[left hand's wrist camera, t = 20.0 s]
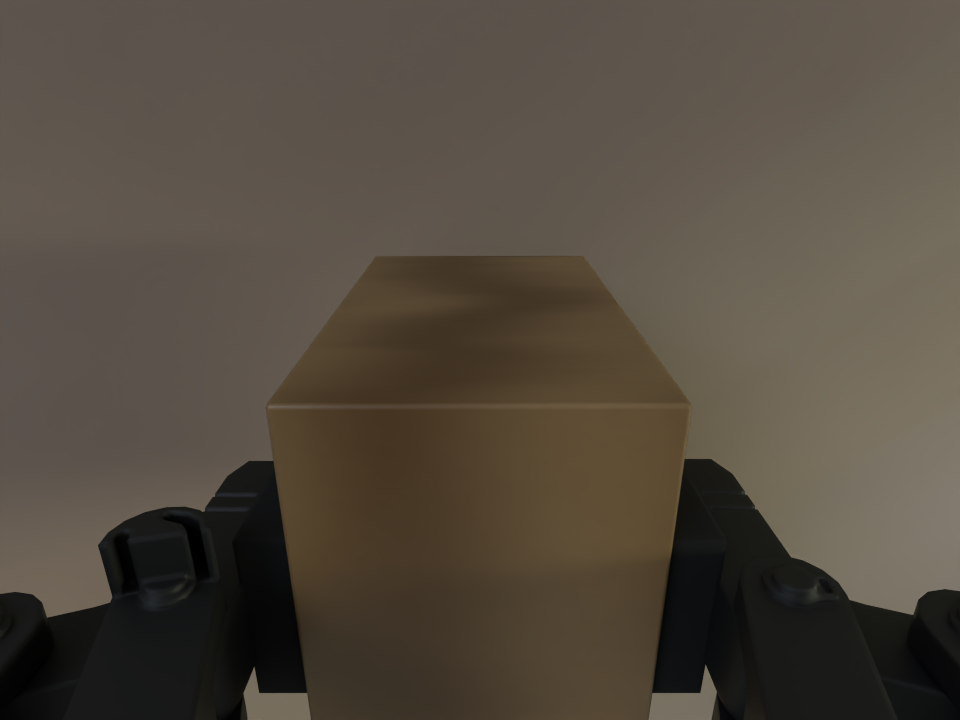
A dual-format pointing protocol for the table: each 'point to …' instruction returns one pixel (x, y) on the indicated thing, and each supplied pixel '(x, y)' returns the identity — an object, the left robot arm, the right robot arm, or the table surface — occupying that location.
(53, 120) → the table surface
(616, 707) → the block
